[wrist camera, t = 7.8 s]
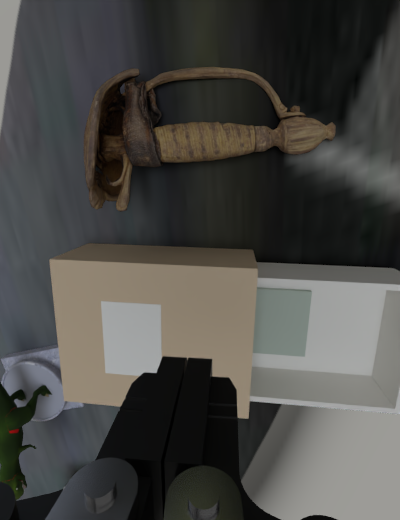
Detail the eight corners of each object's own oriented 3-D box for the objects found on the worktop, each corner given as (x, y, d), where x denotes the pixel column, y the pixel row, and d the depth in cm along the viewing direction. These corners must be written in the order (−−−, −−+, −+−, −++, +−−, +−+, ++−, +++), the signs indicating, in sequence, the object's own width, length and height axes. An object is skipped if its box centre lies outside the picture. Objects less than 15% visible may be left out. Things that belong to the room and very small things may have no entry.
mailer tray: (217, 260, 36) (213, 275, 30) (393, 268, 34) (426, 286, 28) (214, 365, 39) (210, 397, 33) (374, 377, 37) (400, 414, 31)
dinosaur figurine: (40, 430, 46) (-23, 510, 35) (-13, 308, 42) (-103, 353, 31) (96, 422, 45) (49, 502, 33) (47, 294, 41) (-26, 337, 29)
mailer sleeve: (89, 243, 38) (48, 259, 30) (253, 249, 36) (258, 269, 28) (97, 359, 42) (63, 401, 34) (245, 371, 40) (248, 419, 32)
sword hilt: (64, 32, 27) (58, 195, 25) (357, -16, 24) (379, 168, 22) (112, 104, 37) (111, 226, 35) (324, 77, 34) (337, 211, 32)
